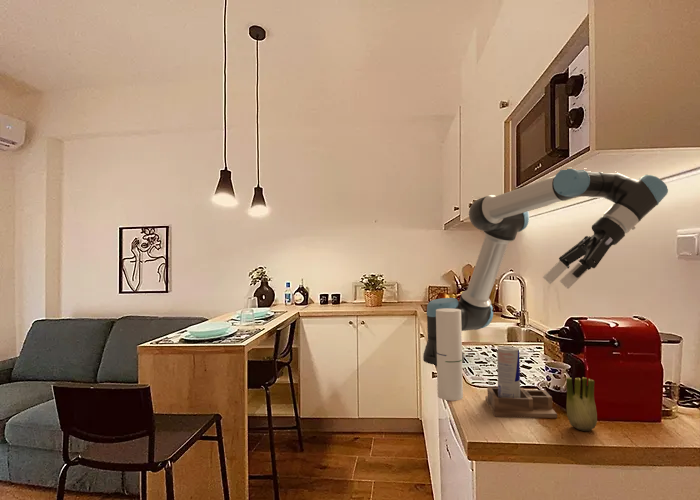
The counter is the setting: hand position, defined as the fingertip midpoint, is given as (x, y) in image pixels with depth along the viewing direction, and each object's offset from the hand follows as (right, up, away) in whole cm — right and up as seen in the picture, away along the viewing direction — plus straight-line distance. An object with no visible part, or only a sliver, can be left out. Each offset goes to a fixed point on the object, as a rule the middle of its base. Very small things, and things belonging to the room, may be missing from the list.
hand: (554, 282), depth 121 cm
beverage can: (-12, -32, 0) cm, 35 cm away
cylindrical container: (-26, -34, +10) cm, 44 cm away
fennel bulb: (0, -33, -15) cm, 37 cm away
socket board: (-10, -33, -1) cm, 35 cm away
